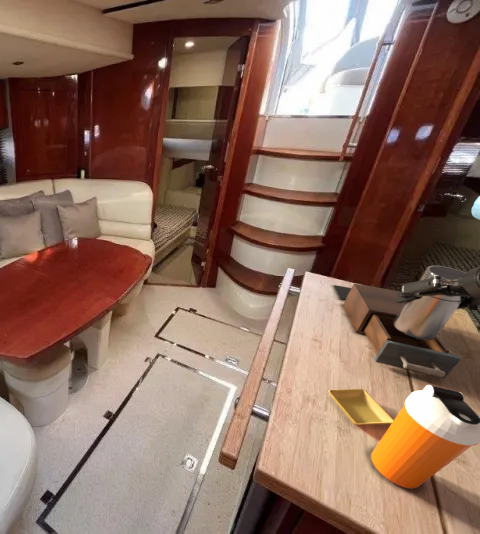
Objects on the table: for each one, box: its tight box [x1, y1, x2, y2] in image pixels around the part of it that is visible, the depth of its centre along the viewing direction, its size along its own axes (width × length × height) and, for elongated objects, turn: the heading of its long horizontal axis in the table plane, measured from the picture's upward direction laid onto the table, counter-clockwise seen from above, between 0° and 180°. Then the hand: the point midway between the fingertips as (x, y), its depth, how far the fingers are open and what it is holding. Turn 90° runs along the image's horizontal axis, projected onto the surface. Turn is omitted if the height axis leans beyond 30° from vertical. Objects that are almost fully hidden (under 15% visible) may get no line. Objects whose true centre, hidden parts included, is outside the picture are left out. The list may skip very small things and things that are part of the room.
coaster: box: [333, 284, 352, 301], centre depth 108 cm, size 9×9×1 cm
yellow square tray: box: [328, 388, 395, 426], centre depth 69 cm, size 9×9×2 cm
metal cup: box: [393, 265, 467, 340], centre depth 75 cm, size 8×8×17 cm
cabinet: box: [342, 283, 405, 336], centre depth 92 cm, size 15×15×9 cm
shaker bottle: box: [370, 384, 480, 489], centre depth 54 cm, size 9×9×20 cm
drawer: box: [364, 313, 462, 379], centre depth 80 cm, size 18×14×7 cm
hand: (420, 301), depth 79 cm, fingers closed on metal cup, 8 cm apart
